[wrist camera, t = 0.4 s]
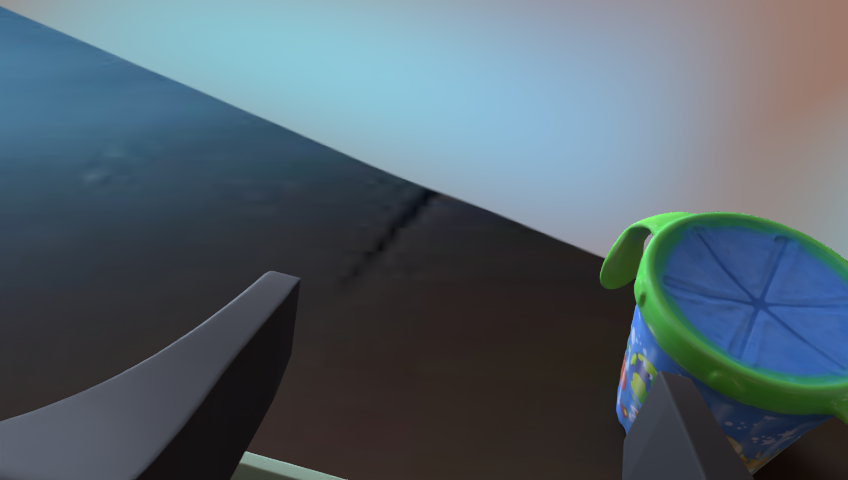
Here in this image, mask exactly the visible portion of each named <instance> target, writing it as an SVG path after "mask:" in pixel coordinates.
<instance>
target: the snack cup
mask: <svg viewBox="0 0 848 480" xmlns="http://www.w3.org/2000/svg"><path fill="white" fill-rule="evenodd" d="M650 233H652V235H653V238H652V240H651V241H650V243H649V245H648V247H647V248H646V250H645V252H644V254H643V247H644V241H645V239H646V238H647V237H648V235H650ZM636 276H637V277H636ZM635 277H636V281H635V285H634V293H635V297H636V303H637V304H636V308H635V313H634V318H633V322H632V326H631V333H630V336H629V339H628V343H627V350H626V353H625V357H624V362H623V366H622V371H621V379H620V383H619V387H618V398H617V409H616V411H617V414H618V418H619V422H620V423H621V424H623V426H624V428H625V430H626V434H628V432H629V430H630V428H631V426H632V424H633V422H634V420H635V418H636V416H637V414H638V412H639V410H640V408H641V406H642V404H643V402H644V400H645V398H646V396H647V394H648V392H649V390H650V388H651V386H652V384H653V382H654V380H655V378H656V376H657V374H658V372H659V370H661V371H664V372H668V373H672V374H676V375H680V376H684V377H688V378H691V380H692V381H693V383H694V385H695V386H696V388H697V389H698V391H699V393H700V394H701V396H702V398H703V399H704V401H705V402H706V404H707V406H708V407H709V409H710V411H711V412H712V414H713V416H714V417H715V419H716V421H717V422H718V424H719V425H720V427H721V429H722V430H723V432H724V434H725V435H726V437H727V438H728V440H729V441H730V443H731V445H732V446H733V448H734V449H735V451H736V452H737V454H738V455H739V457H740V459H741V460H742V462H743V463H744V465H745V466H746V468H747V469H748V471H749V472H750V473H751V475H753V474H754V473H755V472H757V471H758V470H759V469H760V468H761V467H763V466H764V465H765V464H766V463H768V462H769V461H770V460H772V459H773V458H774V457H775V456H777V455H778V454H779V453H780V452H782V451H783V450H784V449H786V448H787V447H789V445H791V444H792V443H793V442H794V441H796V440H797V439H798V438H800V436H801V435H803V434H805V433H806V432H807V431H809V430H811V429H813V428H815V427H817V426H818V425H820V424H821V423H823V422H825V421H826V420H828V419H830V418H832V417H833V416H836V417H837V418H839V419H841V420H843V422H844V423H845V424H847V425H848V261H847V260H845V259H844V258H842V257H841V256H840V255H839V254H837V253H836V252H834V251H833V250H832V249H830V248H829V247H827V246H825V245H824V244H822V243H820V242H818V241H817V240H815V239H813V238H812V237H810V236H808V235H806V234H804V233H801V232H799V231H797V230H795V229H792V228H790V227H787V226H785V225H783V224H780V223H777V222H774V221H771V220H768V219H764V218H760V217H755V216H752V215H746V214H741V213H731V212H710V213H709V212H708V213H699V214H692V213H686V212H672V213H665V214H660V215H656V216H653V217H649V218H646V219H643V220H640V221H638V222H636V223H634V224H632V225H630V226H629V227H628V228H627V229H626V230H625V231H624V232H623V233H622V234H621V235H620V237H619V238H618V239H617V241H616V242H615V244H614V245H613V246H612V248H611V250H610V252H609V253H608V255H607V257H606V259H605V261H604V263H603V266H602V269H601V273H600V282H601V284H602V286H603V287H604V288H607V289H617V288H619V287H622V286H624V285H626V284H627V283H629V282H630V281H632V280H633V279H634V278H635Z"/></svg>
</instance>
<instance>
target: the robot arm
mask: <svg viewBox="0 0 848 480" xmlns="http://www.w3.org/2000/svg"><path fill="white" fill-rule="evenodd" d="M300 279H301V278H298V277H294V276H290V275H286V274H282V273H278V272H274V271H269V272H267V273H265V274H264V275H263V276H262V277H261V278H259V279H258V280H257V281H256V282H255V283H254V284H252V285H251V286H250V287H249V288H248V289H246V290H245V291H244V292H243V293H242V294H240V295H239V296H238V297H237V298H235V299H234V300H233V301H231V302H230V303H229V304H228V305H226V306H225V307H224V308H223V309H221V310H220V311H218V312H217V313H216V314H214V315H213V316H212V317H210V318H209V319H208V320H206V321H205V322H204V323H202V324H201V325H200V326H198V327H197V328H195V329H194V330H192V331H191V332H189V333H188V334H186V335H185V336H183V337H182V338H180V339H179V340H177V341H176V342H174V343H173V344H171V345H170V346H168V347H167V348H165V349H163V350H162V351H160V352H158V353H157V354H155V355H153V356H152V357H150V358H148V359H147V360H145V361H143V362H141V363H140V364H138V365H136V366H134V367H132V368H130V369H129V370H127V371H125V372H123V373H121V374H119V375H117V376H115V377H113V378H111V379H109V380H107V381H105V382H103V383H101V384H98V385H96V386H94V387H92V388H90V389H87V390H85V391H83V392H81V393H78V394H76V395H74V396H72V397H69V398H67V399H64V400H61V401H59V402H56V403H54V404H51V405H48V406H46V407H43V408H40V409H37V410H34V411H32V412H29V413H26V414H23V415H20V416H17V417H14V418H11V419H8V420H4V421H1V422H0V480H230V479H231V477H232V475H233V474H234V472H235V470H236V468H237V466H238V464H239V462H240V461H241V459H242V457H243V455H244V453H245V451H246V450H247V448H248V446H249V444H250V442H251V440H252V439H253V437H254V435H255V433H256V431H257V429H258V427H259V426H260V424H261V422H262V420H263V418H264V416H265V414H266V412H267V411H268V409H269V407H270V405H271V403H272V401H273V399H274V397H275V395H276V392H277V390H278V387H279V385H280V382H281V380H282V377H283V374H284V372H285V369H286V366H287V364H288V361H289V359H290V356H291V351H292V343H293V335H294V327H295V319H296V311H297V303H298V295H299V287H300ZM622 480H755V479H754V478H753V476H752V475H751V473H750V472H749V471H748V469H747V468H746V466H745V465H744V463H743V462H742V460H741V459H740V457H739V455H738V454H737V452H736V451H735V449H734V448H733V446H732V445H731V443H730V441H729V440H728V438H727V437H726V435H725V434H724V432H723V430H722V429H721V427H720V425H719V424H718V422H717V421H716V419H715V417H714V416H713V414H712V412H711V411H710V409H709V407H708V406H707V404H706V402H705V401H704V399H703V398H702V396H701V394H700V393H699V391H698V389H697V388H696V386H695V385H694V383H693V381H692V380H691V378H688V377H684V376H680V375H676V374H672V373H668V372H664V371H661V370H659V372H658V374H657V376H656V378H655V380H654V382H653V384H652V386H651V388H650V390H649V392H648V394H647V396H646V398H645V400H644V402H643V404H642V406H641V408H640V410H639V412H638V414H637V416H636V418H635V420H634V422H633V424H632V426H631V428H630V430H629V432H628V434H627V436H626V438H625V440H624V447H623V476H622Z"/></svg>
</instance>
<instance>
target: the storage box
mask: <svg viewBox="0 0 848 480" xmlns="http://www.w3.org/2000/svg"><path fill="white" fill-rule="evenodd" d="M230 480H345V479H342V478H338V477H335V476H331V475H327V474H324V473H320V472H317V471H313V470H310V469H306V468H302V467H299V466H295V465H292V464H288V463H285V462H281V461H277V460H274V459H270V458H267V457H263V456H260V455H256V454H252V453H249V452H245V453H244V455H243V457H242V459H241V461H240V462H239V464H238V466H237V468H236V470H235V472H234V474H233V475H232V477H231V479H230Z"/></svg>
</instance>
